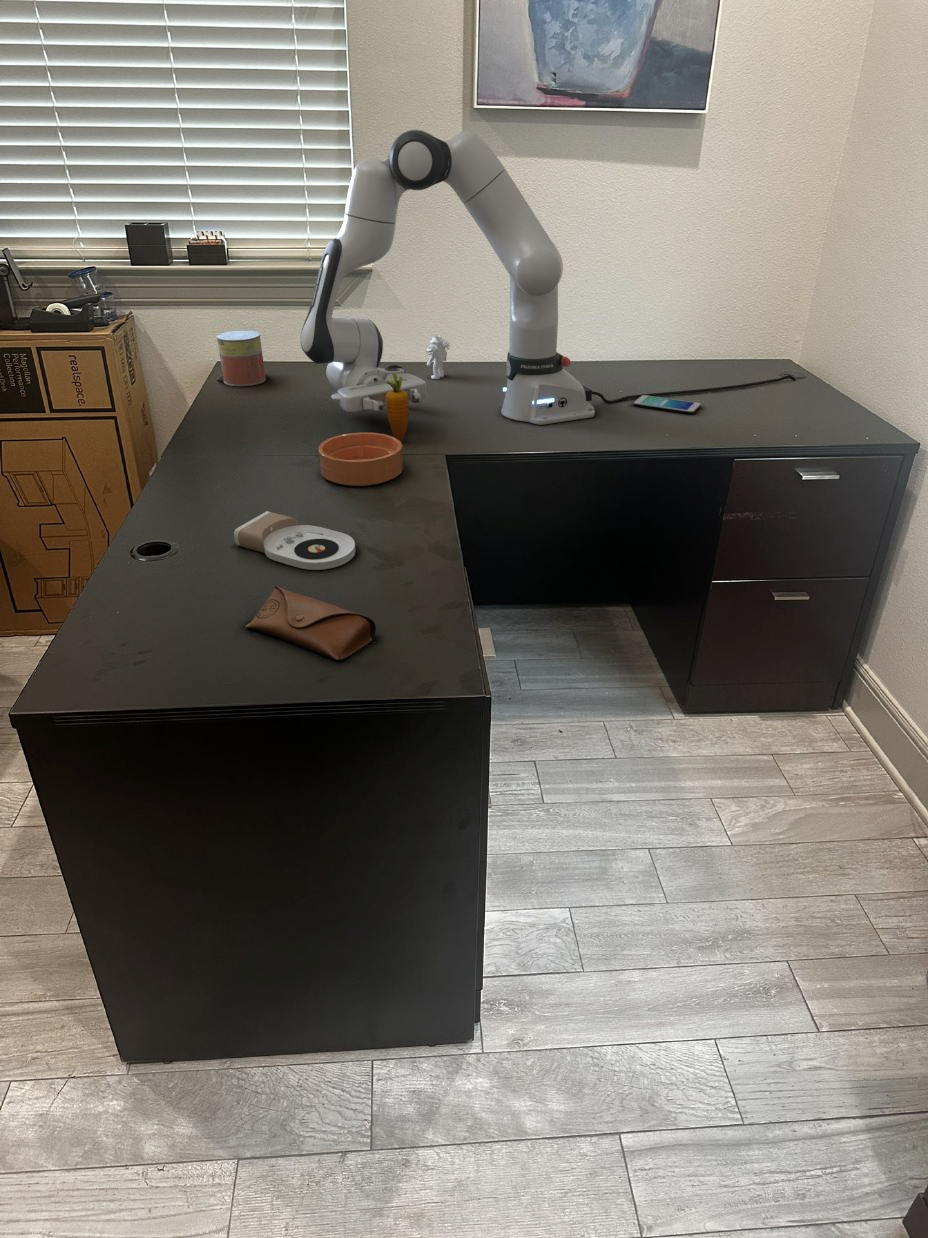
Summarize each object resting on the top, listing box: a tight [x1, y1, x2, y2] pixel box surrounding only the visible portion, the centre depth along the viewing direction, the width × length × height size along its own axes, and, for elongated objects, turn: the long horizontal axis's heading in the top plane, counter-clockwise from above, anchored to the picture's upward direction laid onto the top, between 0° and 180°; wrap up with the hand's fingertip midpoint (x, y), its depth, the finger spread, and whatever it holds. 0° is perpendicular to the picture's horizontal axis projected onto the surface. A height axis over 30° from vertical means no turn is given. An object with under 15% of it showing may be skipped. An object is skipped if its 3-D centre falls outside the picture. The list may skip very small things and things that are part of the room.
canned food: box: [216, 329, 267, 387], centre depth 224 cm, size 11×11×12 cm
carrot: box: [386, 373, 409, 442], centre depth 181 cm, size 5×5×15 cm
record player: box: [233, 510, 356, 571], centre depth 140 cm, size 12×3×20 cm
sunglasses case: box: [244, 585, 377, 661], centre depth 118 cm, size 18×7×7 cm
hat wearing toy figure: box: [425, 334, 451, 380], centre depth 226 cm, size 9×4×12 cm, turn 148°
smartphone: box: [633, 395, 702, 415], centre depth 205 cm, size 8×1×15 cm
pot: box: [318, 432, 404, 487], centre depth 168 cm, size 17×17×6 cm
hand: (399, 402), depth 180 cm, fingers open, 8 cm apart
